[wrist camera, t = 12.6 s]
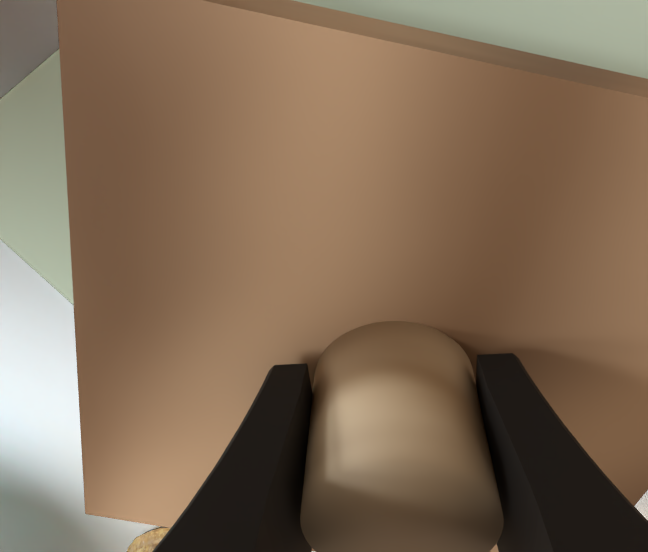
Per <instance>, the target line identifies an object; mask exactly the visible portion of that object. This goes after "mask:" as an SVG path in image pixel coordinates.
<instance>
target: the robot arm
mask: <svg viewBox="0 0 648 552" xmlns="http://www.w3.org/2000/svg"><path fill="white" fill-rule="evenodd" d="M476 388H477V393H478V397H479V402H480V407H481V412H482V416H483V421H484V426H485V431H486V435H487V440H488V445H489V450H490V455H491V459H492V464H493V469H494V474H495V478H496V483H497V488H498V493H499V498H500V502H501V507H502V512H503V518H504V523H503V530H502V533H501V536H500V538H499V540H498V542H497V547H498V551H499V552H648V521H647V520H646V518H645V517H644V516H643V515H642V514H641V513H640V512H639V511H638V510H637V509H636V508H635V507H634V506H633V505H632V504H631V503H630V502H629V500H628V499H627V498H626V497H625V496H624V495H623V494H622V493H621V492H620V490H619V489H618V488H617V487H616V486H615V485H614V484H613V483H612V481H611V480H610V479H609V478H608V477H607V476H606V475H605V474H604V472H603V471H602V470H601V469H600V468H599V467H598V465H597V464H596V463H595V462H594V461H593V459H592V458H591V457H590V456H589V455H588V453H587V452H586V451H585V450H584V448H583V447H582V446H581V445H580V443H579V442H578V441H577V440H576V438H575V437H574V436H573V435H572V433H571V432H570V431H569V430H568V428H567V427H566V426H565V425H564V423H563V422H562V421H561V419H560V418H559V417H558V415H557V414H556V413H555V411H554V410H553V409H552V407H551V406H550V404H549V403H548V402H547V400H546V399H545V397H544V396H543V395H542V393H541V392H540V390H539V389H538V387H537V386H536V385H535V383H534V382H533V380H532V379H531V377H530V376H529V374H528V372H527V371H526V369H525V368H524V366H523V365H522V363H521V361H520V360H519V358H518V357H517V356H516V355H514V354H513V353H504V354H484V355H477V367H476ZM312 394H313V393H312V387H311V382H310V376H309V371H308V365H307V363H304V364H284V365H274V366H273V367H272V368H271V369H270V370H269V372H268V374H267V376H266V378H265V380H264V382H263V384H262V386H261V388H260V390H259V392H258V394H257V396H256V397H255V399H254V401H253V403H252V405H251V407H250V409H249V410H248V412H247V414H246V416H245V417H244V419H243V421H242V423H241V424H240V426H239V428H238V429H237V431H236V433H235V434H234V436H233V438H232V439H231V441H230V443H229V444H228V446H227V447H226V449H225V451H224V452H223V454H222V456H221V457H220V459H219V460H218V462H217V464H216V465H215V467H214V468H213V470H212V471H211V472H210V474H209V475H208V477H207V478H206V480H205V481H204V483H203V484H202V486H201V487H200V489H199V490H198V491H197V493H196V494H195V496H194V497H193V499H192V500H191V502H190V503H189V504H188V506H187V507H186V509H185V510H184V511H183V513H182V514H181V515H180V517H179V518H178V519H177V521H176V522H175V523H174V525H173V526H172V527H171V529H170V530H169V531H168V532H167V534H166V535H165V536H164V537H163V539H162V540H161V541H160V542H159V544H158V545H157V546H156V547H155V549H154V550H153V551H152V552H311V551H312V547H311V546H310V544H309V543H308V542H307V540H306V539H305V537H304V534H303V532H302V529H301V524H300V514H301V504H302V494H303V484H304V474H305V464H306V454H307V444H308V434H309V424H310V414H311V404H312Z"/></svg>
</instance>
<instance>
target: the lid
mask: <svg viewBox="0 0 648 552" xmlns="http://www.w3.org/2000/svg"><path fill="white" fill-rule="evenodd" d="M57 17H58V35H59V53H60V70H61V88H62V106H63V124H64V141H65V159H66V177H67V195H68V213H69V230H70V248H71V266H72V284H73V301H74V319H75V337H76V355H77V373H78V390H79V408H80V426H81V444H82V461H83V479H84V497H85V514H89V515H96V516H102V517H108V518H114V519H120V520H126V521H132V522H139V523H145V524H151V525H157V526H163V527H169V528H171V527H172V526H173V525H174V523H175V522H176V521H177V519H178V518H179V517H180V515H181V514H182V513H183V511H184V510H185V509H186V507H187V506H188V504H189V503H190V502H191V500H192V499H193V497H194V496H195V494H196V493H197V491H198V490H199V489H200V487H201V486H202V484H203V483H204V481H205V480H206V478H207V477H208V475H209V474H210V472H211V471H212V470H213V468H214V467H215V465H216V464H217V462H218V460H219V459H220V457H221V456H222V454H223V452H224V451H225V449H226V447H227V446H228V444H229V443H230V441H231V439H232V438H233V436H234V434H235V433H236V431H237V429H238V428H239V426H240V424H241V423H242V421H243V419H244V417H245V416H246V414H247V412H248V410H249V409H250V407H251V405H252V403H253V401H254V399H255V397H256V396H257V394H258V392H259V390H260V388H261V386H262V384H263V382H264V380H265V378H266V376H267V374H268V372H269V370H270V369H271V368H272V367H273V366H274V365H284V364H304V363H307V365H308V371H309V376H310V382H311V387H312V393H313V394H312V404H311V414H310V424H309V434H308V444H307V454H306V464H305V474H304V484H303V494H302V504H301V514H300V524H301V529H302V532H303V534H304V537H305V539H306V540H307V542H308V543H309V544H310V546H311V547H312V551H316V552H499V551H498V547H497V542H498V540H499V538H500V536H501V533H502V530H503V523H504V518H503V512H502V507H501V502H500V498H499V493H498V488H497V483H496V478H495V474H494V469H493V464H492V459H491V455H490V450H489V445H488V440H487V435H486V431H485V426H484V421H483V416H482V412H481V407H480V402H479V397H478V393H477V388H476V367H477V355H484V354H504V353H513V354H514V355H516V356H517V357H518V358H519V360H520V361H521V363H522V365H523V366H524V368H525V369H526V371H527V372H528V374H529V376H530V377H531V379H532V380H533V382H534V383H535V385H536V386H537V387H538V389H539V390H540V392H541V393H542V395H543V396H544V397H545V399H546V400H547V402H548V403H549V404H550V406H551V407H552V409H553V410H554V411H555V413H556V414H557V415H558V417H559V418H560V419H561V421H562V422H563V423H564V425H565V426H566V427H567V428H568V430H569V431H570V432H571V433H572V435H573V436H574V437H575V438H576V440H577V441H578V442H579V443H580V445H581V446H582V447H583V448H584V450H585V451H586V452H587V453H588V455H589V456H590V457H591V458H592V459H593V461H594V462H595V463H596V464H597V465H598V467H599V468H600V469H601V470H602V471H603V472H604V474H605V475H606V476H607V477H608V478H609V479H610V480H611V481H612V483H613V484H614V485H615V486H616V487H617V488H618V489H619V490H620V492H621V493H622V494H623V495H624V496H625V497H626V498H627V499H628V500H629V502H630V503H631V504H632V505H633V506H635V504H636V503H637V502H638V501H639V500H640V498H641V497H642V496H643V495H644V493H645V492H646V491H647V490H648V79H646V78H641V77H637V76H632V75H628V74H623V73H619V72H614V71H610V70H605V69H601V68H596V67H592V66H587V65H583V64H578V63H574V62H569V61H565V60H560V59H556V58H551V57H546V56H542V55H537V54H533V53H528V52H524V51H519V50H515V49H510V48H506V47H501V46H497V45H492V44H488V43H483V42H479V41H474V40H470V39H465V38H461V37H456V36H451V35H447V34H442V33H438V32H433V31H429V30H424V29H420V28H415V27H411V26H406V25H402V24H397V23H393V22H388V21H384V20H379V19H375V18H370V17H366V16H361V15H356V14H352V13H347V12H343V11H338V10H334V9H329V8H325V7H320V6H316V5H311V4H307V3H302V2H298V1H293V0H57Z"/></svg>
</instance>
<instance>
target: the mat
mask: <svg viewBox="0 0 648 552" xmlns="http://www.w3.org/2000/svg"><path fill="white" fill-rule="evenodd" d="M293 1H298V2H302V3H307V4H311V5H316V6H320V7H325V8H329V9H334V10H338V11H343V12H347V13H352V14H356V15H361V16H366V17H370V18H375V19H379V20H384V21H388V22H393V23H397V24H402V25H406V26H411V27H415V28H420V29H424V30H429V31H433V32H438V33H442V34H447V35H451V36H456V37H461V38H465V39H470V40H474V41H479V42H483V43H488V44H492V45H497V46H501V47H506V48H510V49H515V50H519V51H524V52H528V53H533V54H537V55H542V56H546V57H551V58H556V59H560V60H565V61H569V62H574V63H578V64H583V65H587V66H592V67H596V68H601V69H605V70H610V71H614V72H619V73H623V74H628V75H632V76H637V77H641V78H646V79H648V0H293ZM0 239H1V240H2V241H3V242H4V243H5V244H6V245H7V246H8V247H9V248H11V249H12V250H13V251H14V252H15V253H16V254H17V255H18V256H19V257H21V258H22V259H23V260H24V261H25V262H26V263H27V264H28V265H29V266H30V267H32V268H33V269H34V270H35V271H36V272H37V273H38V274H39V275H40V276H42V277H43V278H44V279H45V280H46V281H47V282H48V283H49V284H50V285H52V286H53V287H54V288H55V289H56V290H57V291H58V292H59V293H60V294H61V295H63V296H64V297H65V298H66V299H67V300H68V301H69V302H70V303H71V304H73V305H74V301H73V284H72V266H71V248H70V230H69V213H68V195H67V177H66V159H65V141H64V124H63V106H62V88H61V70H60V53H59V49H58V50H57V51H56V52H54V53H53V54H52V55H51V56H50V57H49V58H47V59H46V60H45V61H44V62H43V63H42V64H40V65H39V66H38V67H37V68H36V69H35V70H33V71H32V72H31V73H30V74H29V75H28V76H26V77H25V78H24V79H23V80H22V81H21V82H19V83H18V84H17V85H16V86H15V87H14V88H12V89H11V90H10V91H9V92H8V93H7V94H5V95H4V96H3V97H2V98H1V99H0Z"/></svg>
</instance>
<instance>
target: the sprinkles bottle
mask: <svg viewBox="0 0 648 552" xmlns="http://www.w3.org/2000/svg"><path fill="white" fill-rule="evenodd" d="M170 529H171V528H159V529H154V530H152V531H149V532H146V533H145V534H142V535H140V536H138V537H136V538H135V540H134V541H133V542H132V544H131V545H130V546H129V548H128V550H127V552H152V551H153V550H154V549H155V547H156V546H157V545H158V544H159V542H160V541H161V540H162V539H163V537H164V536H165V535H166V534H167V532H168V531H169V530H170Z"/></svg>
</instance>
